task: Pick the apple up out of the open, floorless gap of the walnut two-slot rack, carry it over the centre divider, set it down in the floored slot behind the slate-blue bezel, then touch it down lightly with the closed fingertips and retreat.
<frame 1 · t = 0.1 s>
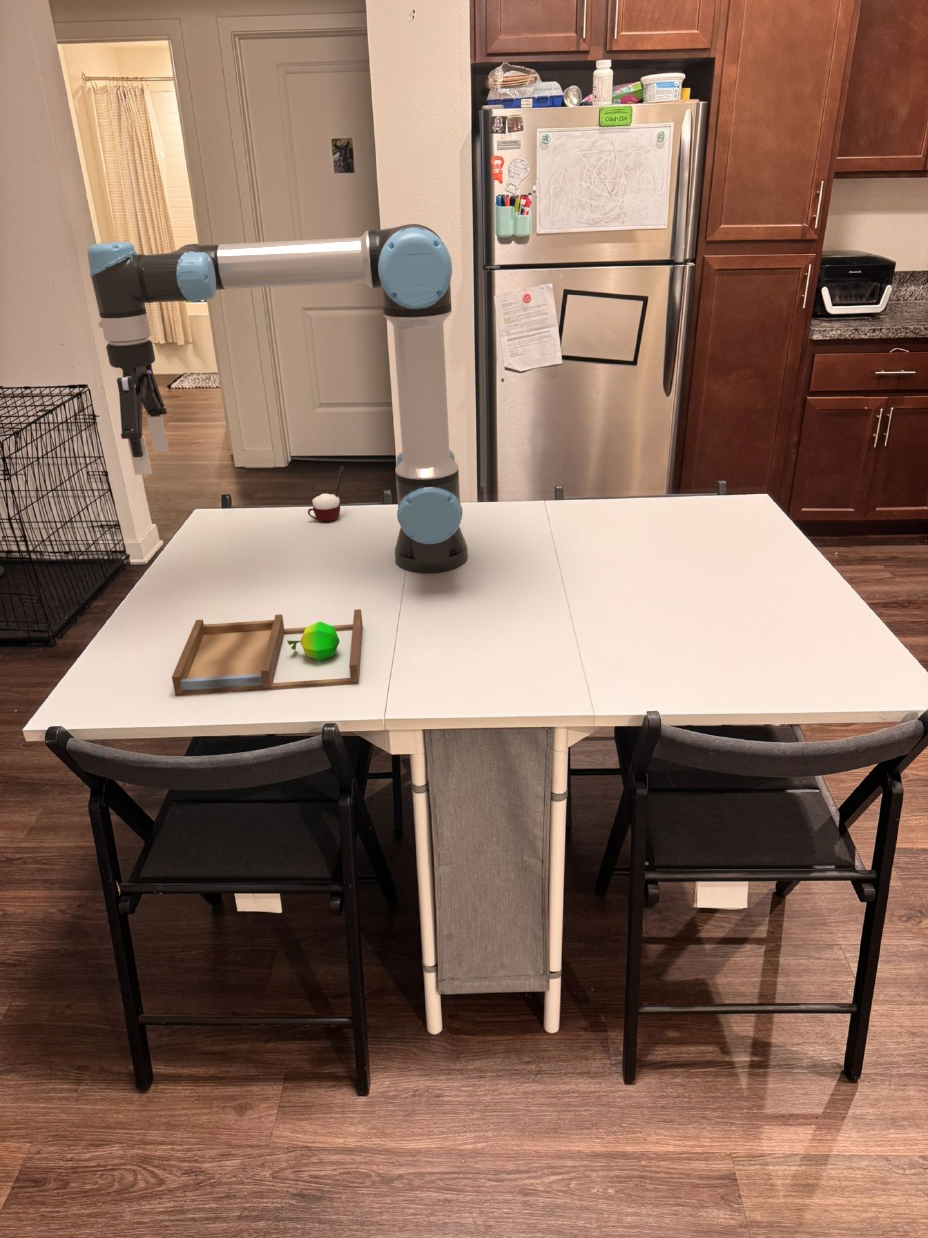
hand: (152, 462, 167), 28 cm above the table, fingers open, 13 cm apart
apple: (315, 657, 158), on the table
rack: (274, 659, 157), on the table
cocoa: (329, 520, 216), on the table
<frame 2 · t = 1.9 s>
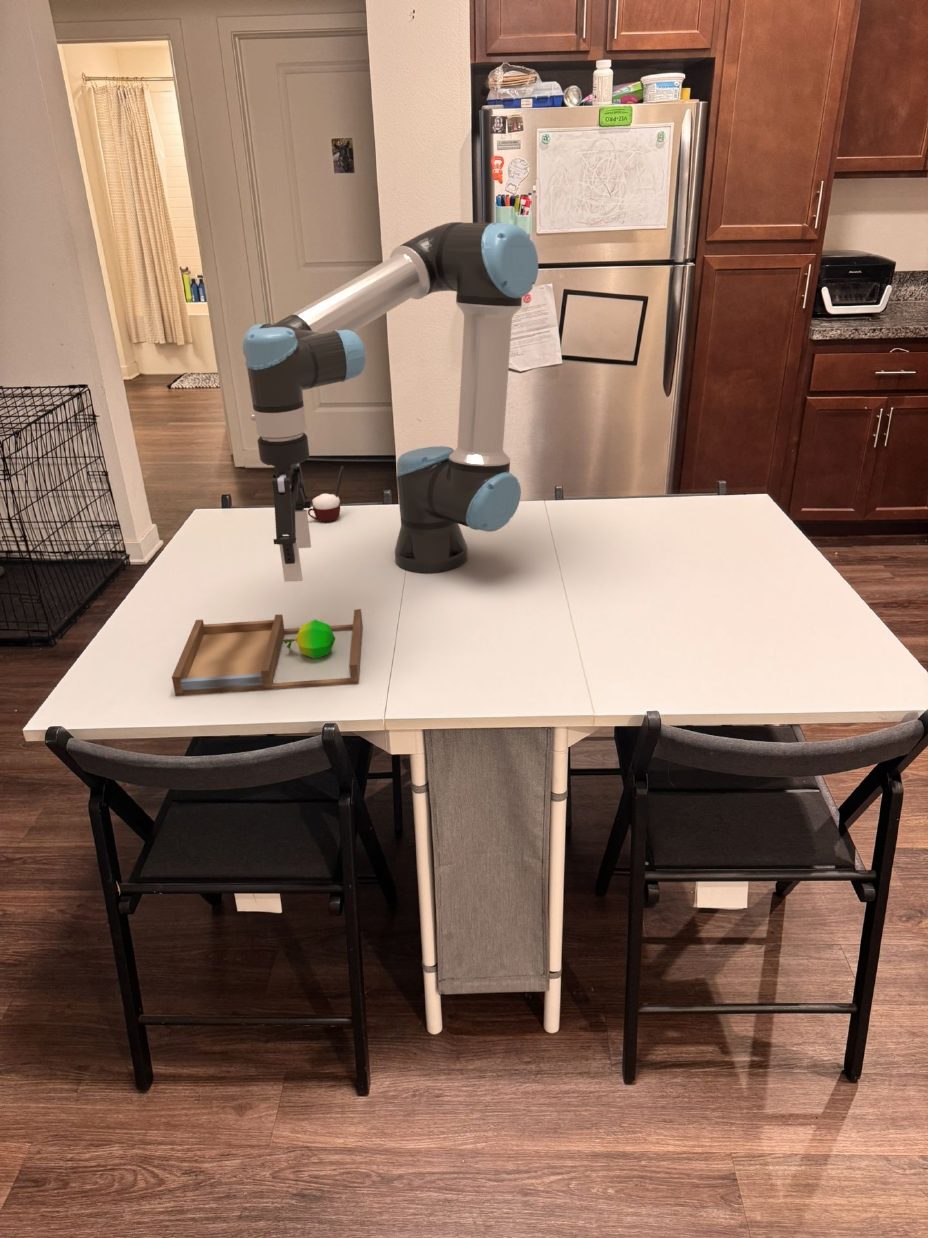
hand: (298, 563, 150), 17 cm above the table, fingers open, 13 cm apart
apple: (310, 655, 159), on the table
everything else where it was.
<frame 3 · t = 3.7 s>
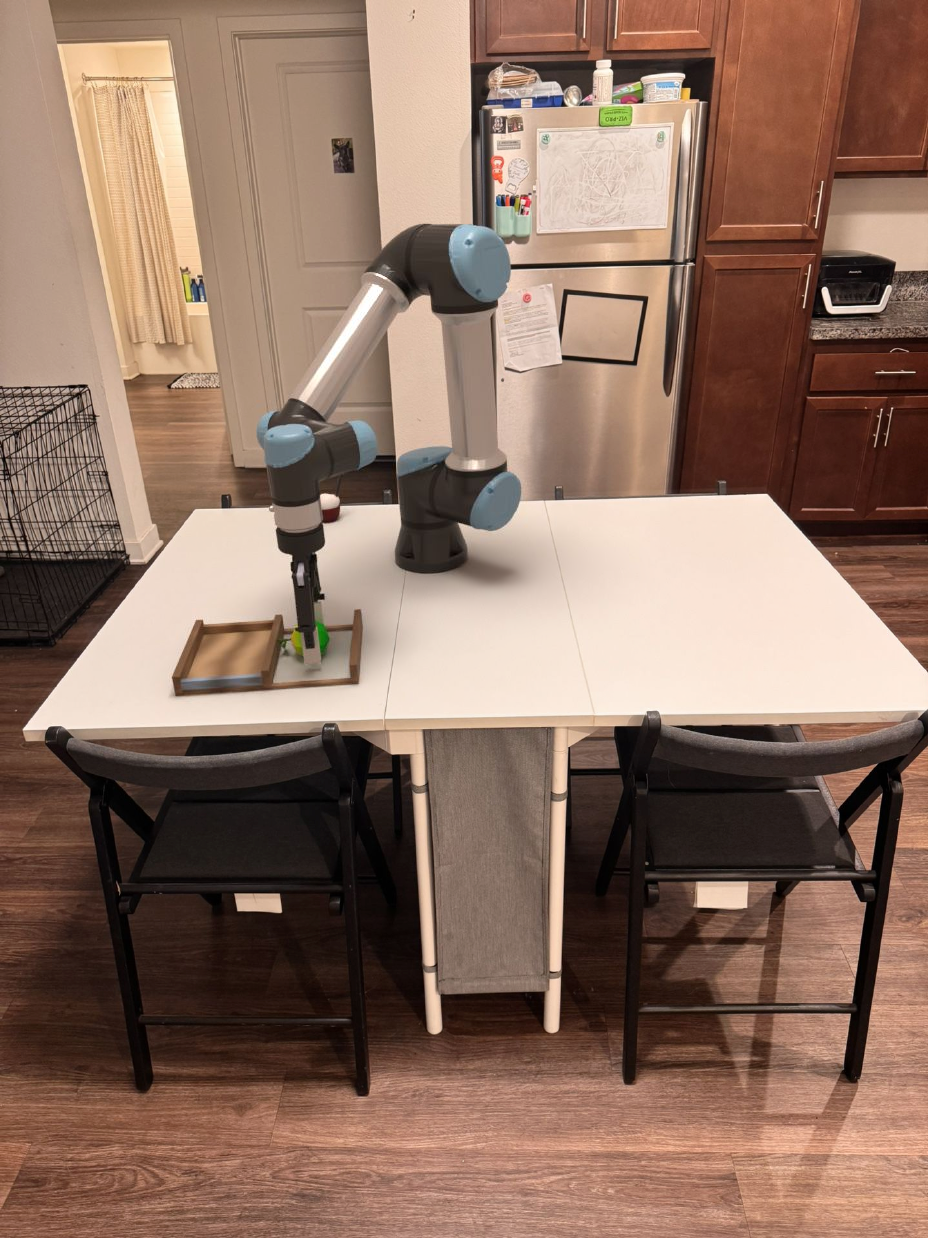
hand: (315, 649, 157), 1 cm above the table, fingers open, 9 cm apart
apple: (305, 655, 159), on the table, touching gripper
everything else where it was.
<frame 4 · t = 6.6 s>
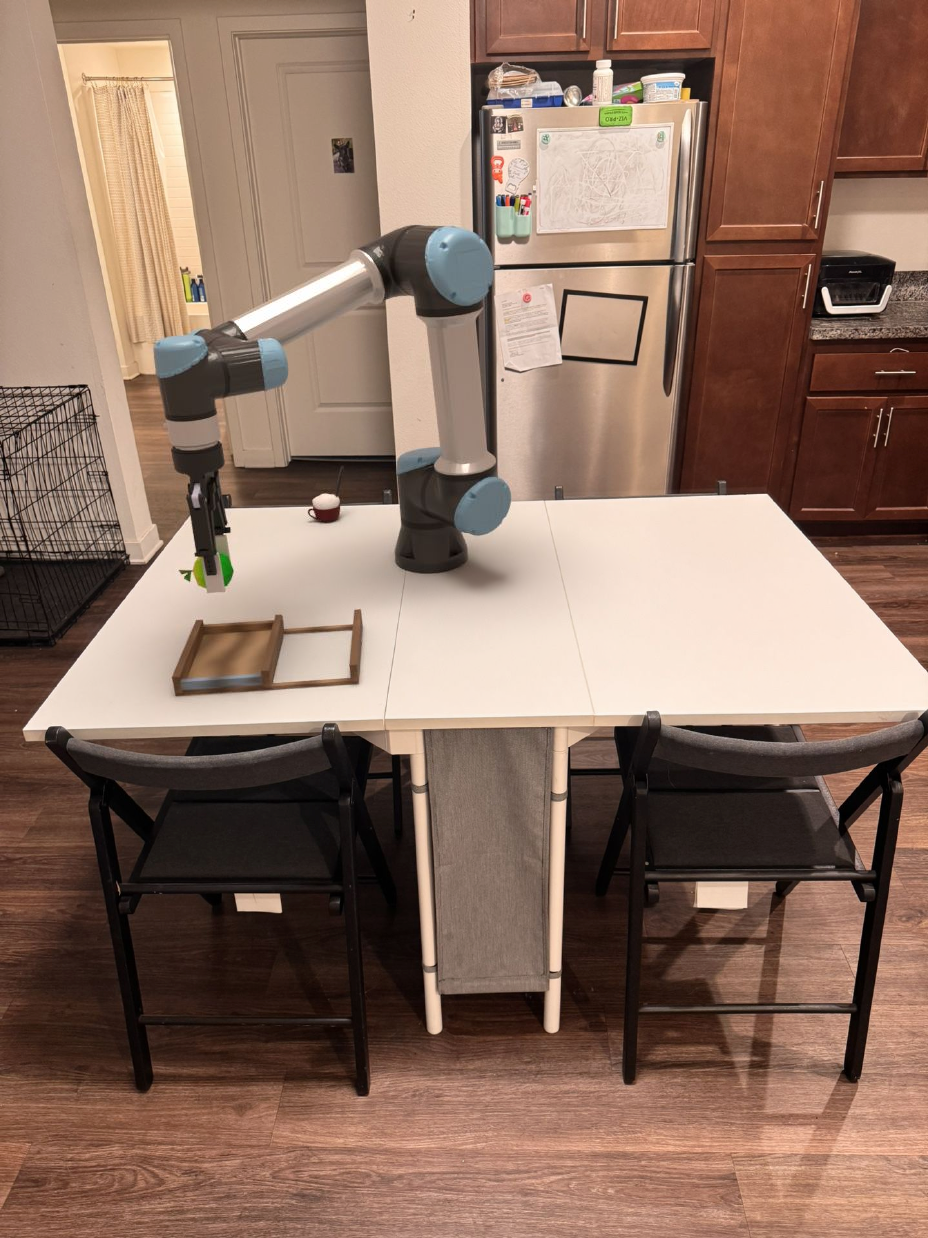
hand: (220, 581, 150), 15 cm above the table, fingers closed on apple, 7 cm apart
apple: (209, 588, 151), point 14 cm above the table, touching gripper
everything else where it was.
when the fingers open (3 cm above the table, at t = 9.1 s): apple drops 1 cm, resting on rack.
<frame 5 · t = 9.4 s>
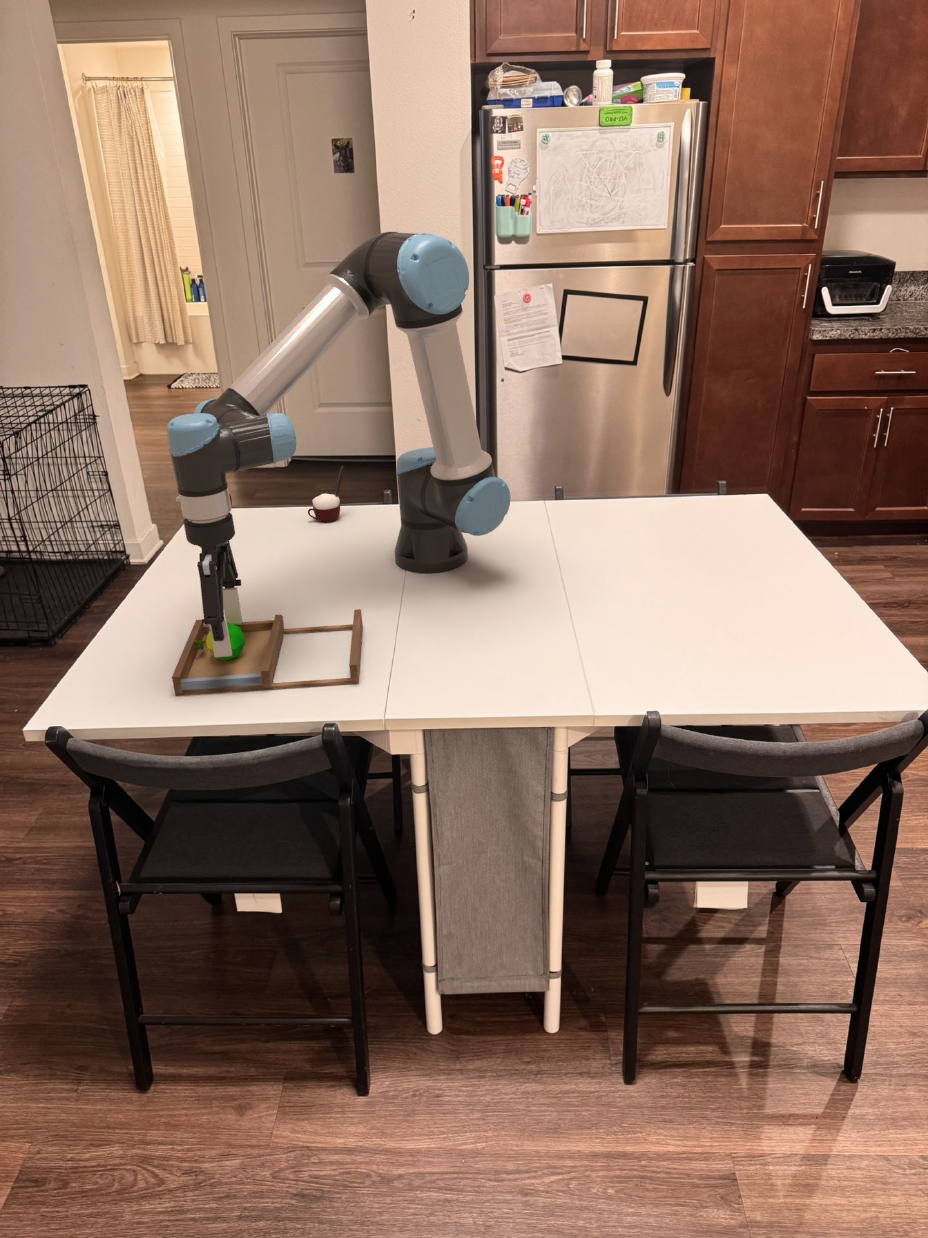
hand: (229, 638, 155), 4 cm above the table, fingers open, 11 cm apart
apple: (221, 657, 157), point 1 cm above the table, touching rack
everything else where it was.
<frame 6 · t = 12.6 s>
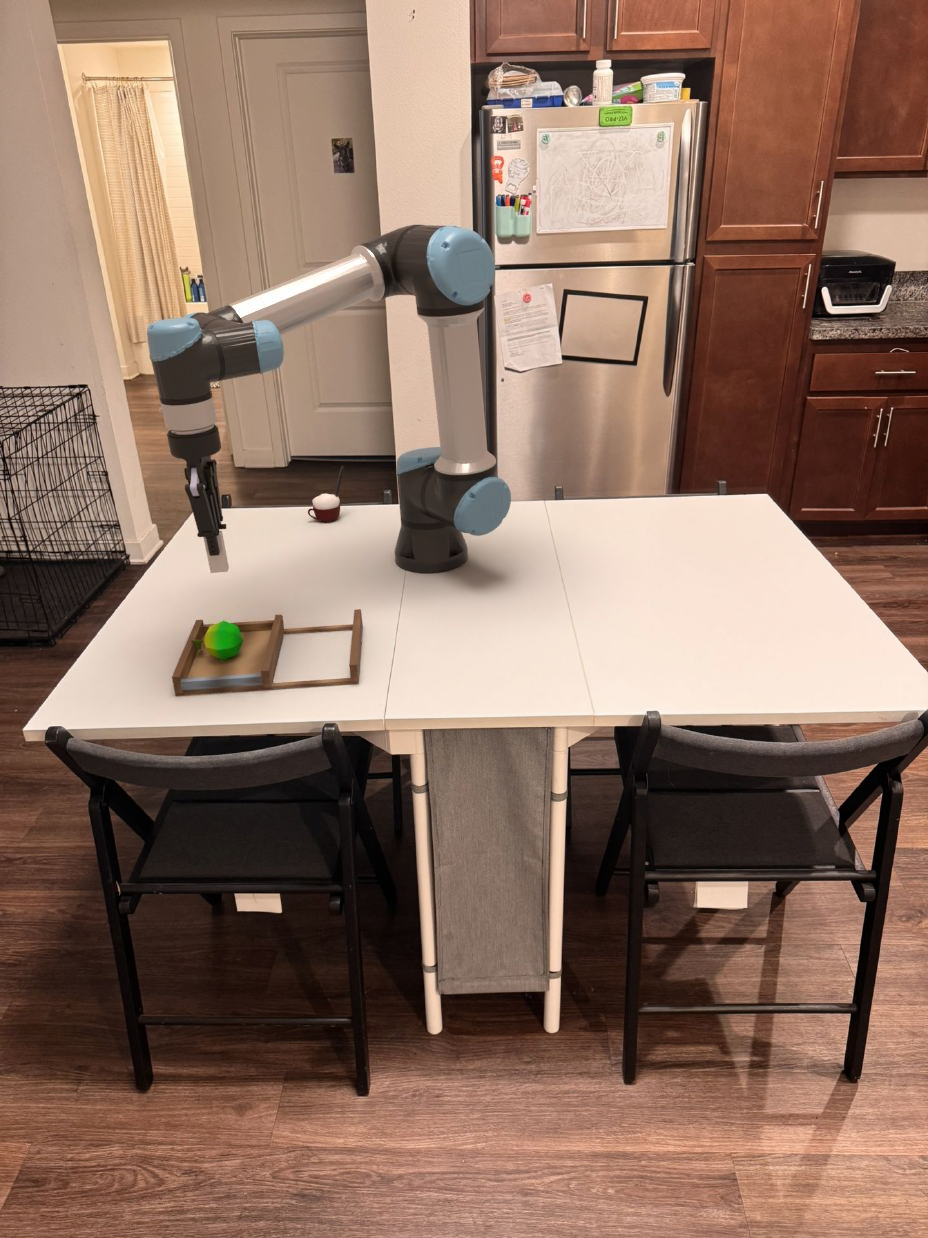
hand: (219, 570, 150), 17 cm above the table, fingers closed
nothing on the table moved.
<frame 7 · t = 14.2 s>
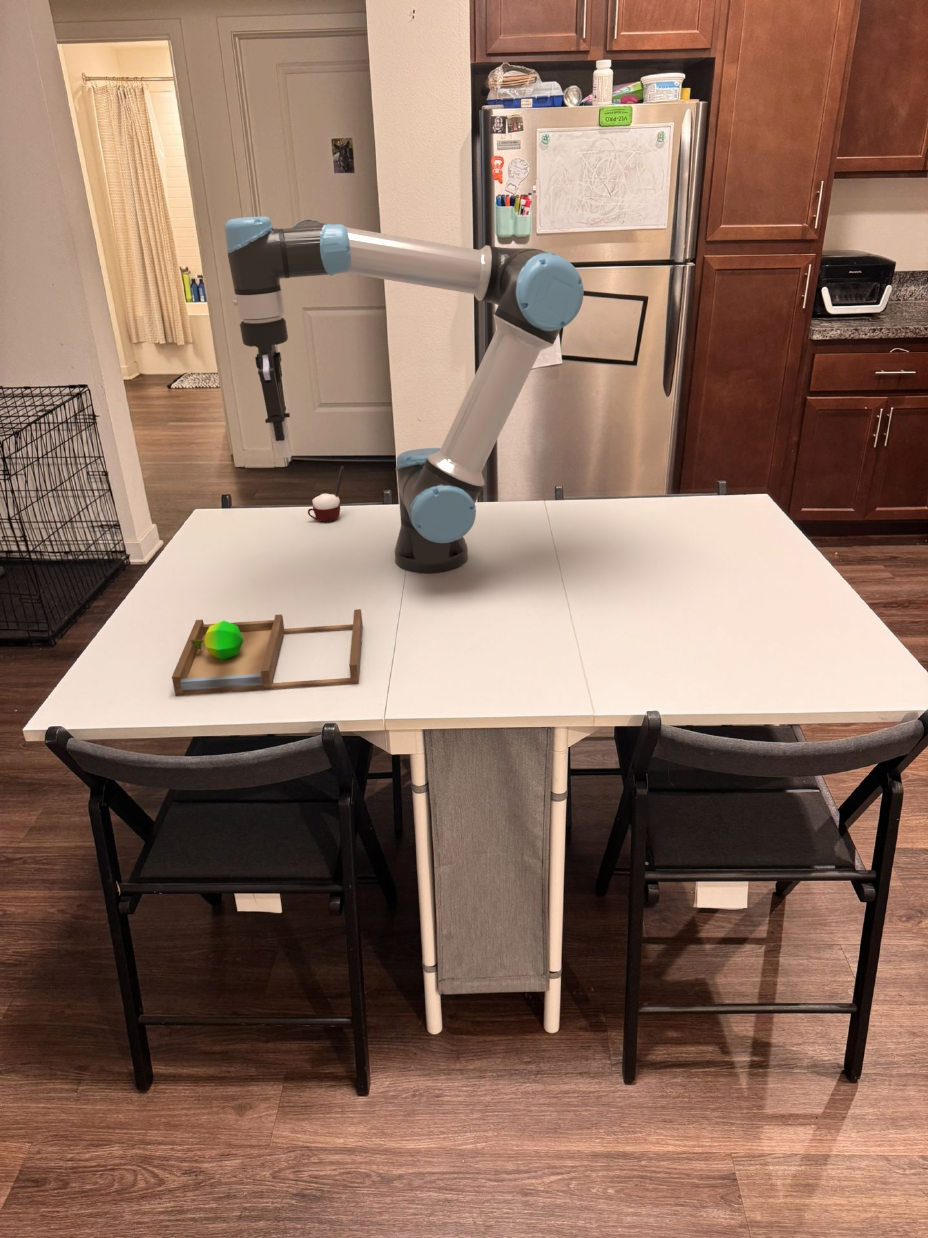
hand: (283, 456, 164), 29 cm above the table, fingers closed
nothing on the table moved.
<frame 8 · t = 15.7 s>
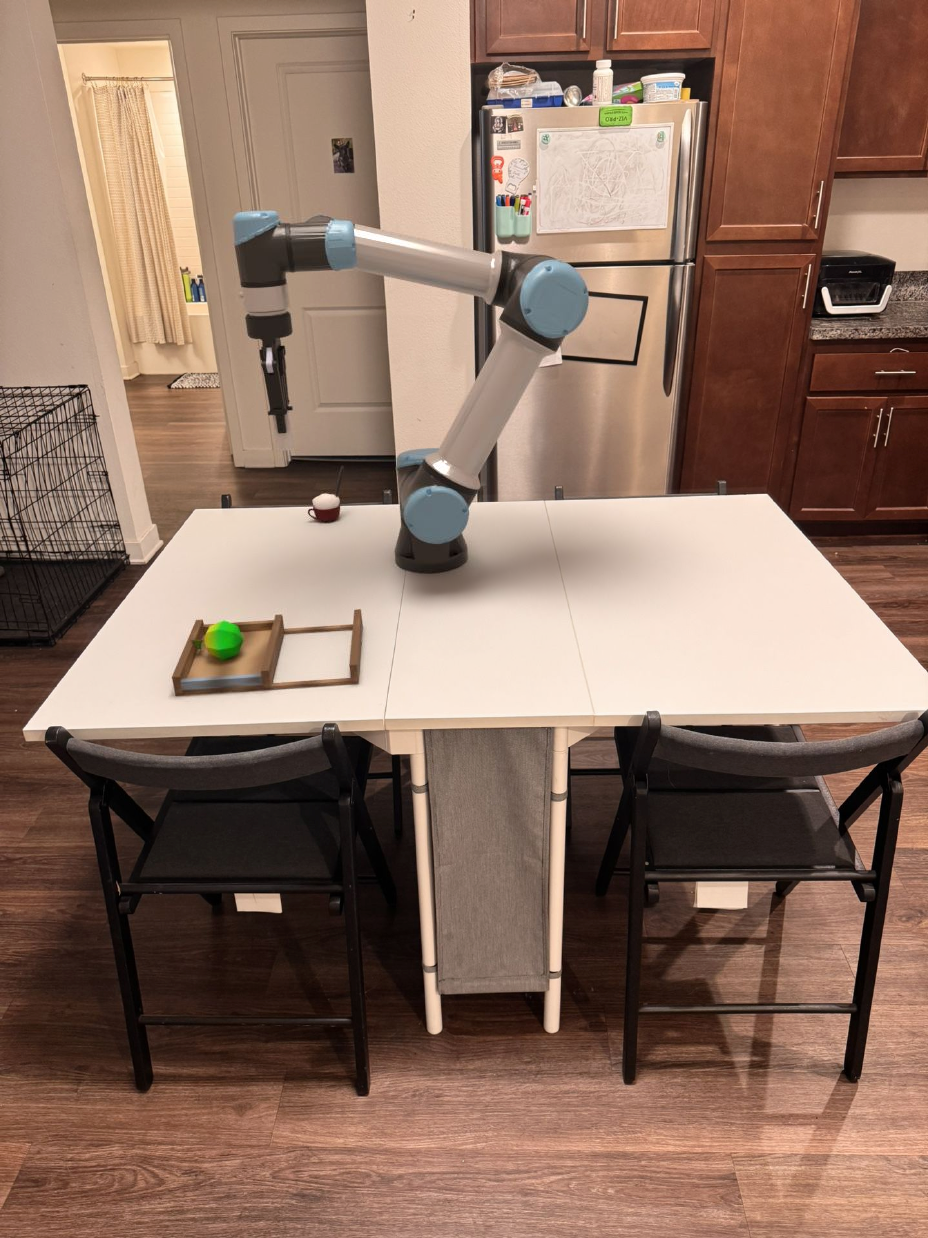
hand: (285, 449, 165), 29 cm above the table, fingers closed
nothing on the table moved.
at the end: apple inside the target area on the rack (2.4 cm from its centre), point 0.8 cm above the rack's base; the gripper is holding nothing; apple inside the target area (7.5 cm from its centre), point 0.8 cm above the table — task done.
